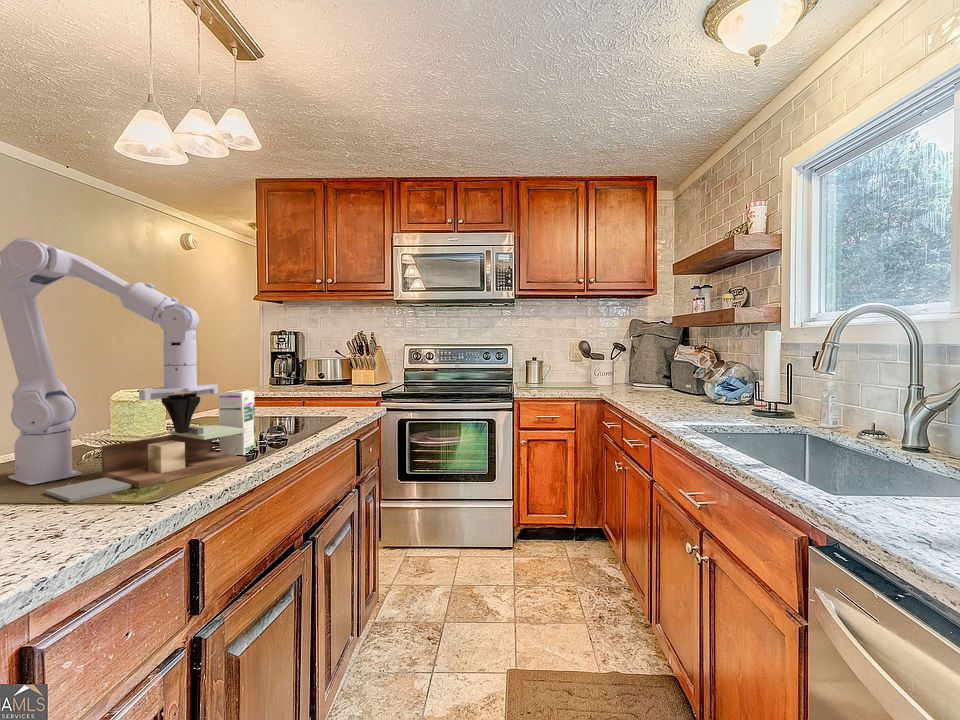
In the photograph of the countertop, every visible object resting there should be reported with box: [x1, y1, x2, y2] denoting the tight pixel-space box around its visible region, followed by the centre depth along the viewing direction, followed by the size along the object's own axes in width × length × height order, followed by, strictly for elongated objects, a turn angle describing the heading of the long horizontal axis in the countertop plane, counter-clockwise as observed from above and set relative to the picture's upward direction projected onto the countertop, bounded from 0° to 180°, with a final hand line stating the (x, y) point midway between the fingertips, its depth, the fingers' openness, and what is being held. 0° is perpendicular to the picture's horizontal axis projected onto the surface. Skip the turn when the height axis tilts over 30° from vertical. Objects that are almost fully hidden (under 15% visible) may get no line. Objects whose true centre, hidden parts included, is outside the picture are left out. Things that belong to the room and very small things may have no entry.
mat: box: [44, 477, 132, 503], centre depth 85 cm, size 9×9×1 cm
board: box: [100, 434, 247, 489], centre depth 99 cm, size 13×21×6 cm, turn 151°
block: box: [148, 440, 185, 474], centre depth 97 cm, size 4×4×6 cm
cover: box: [169, 423, 245, 440], centre depth 105 cm, size 12×9×2 cm
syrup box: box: [217, 389, 257, 456], centre depth 114 cm, size 6×6×14 cm
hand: (181, 432), depth 99 cm, fingers closed
